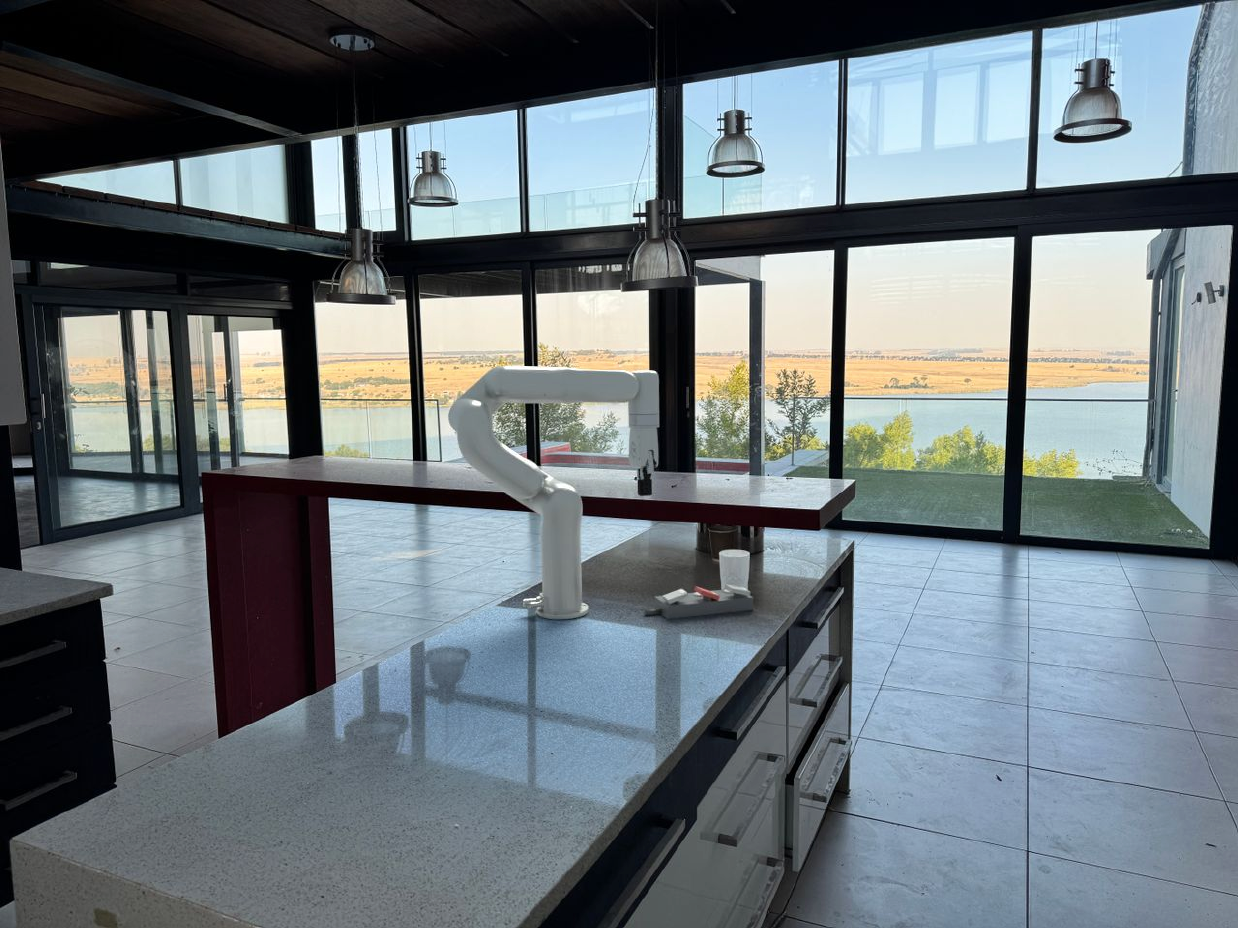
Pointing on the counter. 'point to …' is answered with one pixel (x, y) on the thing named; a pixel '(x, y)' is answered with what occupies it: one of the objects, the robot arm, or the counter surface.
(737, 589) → the rocker outlet
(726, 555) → the white cup
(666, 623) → the counter surface
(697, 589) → the outlet rocker
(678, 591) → the outlet rocker
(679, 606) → the power strip
